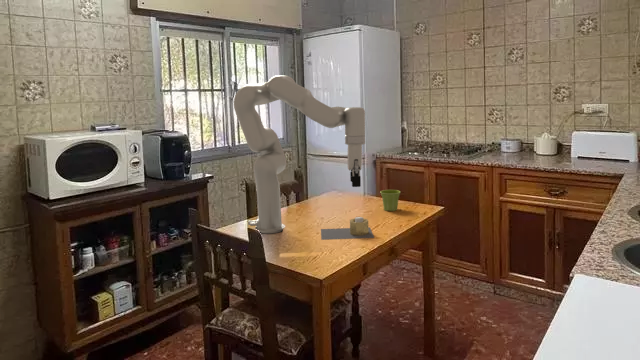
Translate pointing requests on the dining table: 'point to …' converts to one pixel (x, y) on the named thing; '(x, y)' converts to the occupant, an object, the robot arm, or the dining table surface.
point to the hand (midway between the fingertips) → (355, 184)
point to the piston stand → (344, 233)
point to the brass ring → (359, 227)
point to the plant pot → (390, 199)
